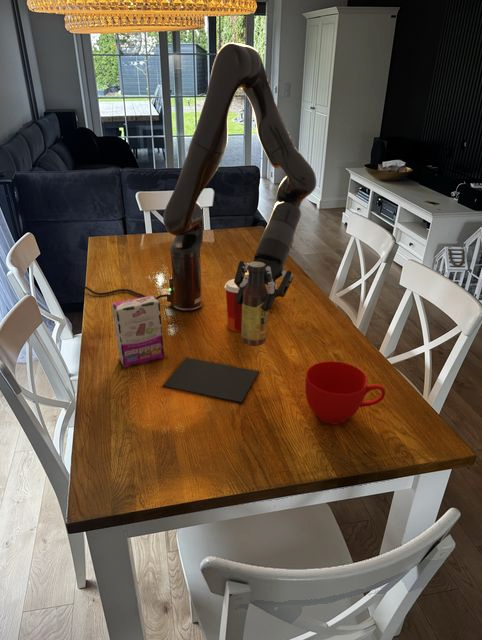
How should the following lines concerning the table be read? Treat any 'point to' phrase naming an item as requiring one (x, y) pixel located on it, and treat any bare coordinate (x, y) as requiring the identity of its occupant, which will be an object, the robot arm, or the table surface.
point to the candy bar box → (138, 330)
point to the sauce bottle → (254, 306)
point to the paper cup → (233, 307)
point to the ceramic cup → (337, 391)
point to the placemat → (212, 380)
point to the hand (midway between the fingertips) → (252, 306)
